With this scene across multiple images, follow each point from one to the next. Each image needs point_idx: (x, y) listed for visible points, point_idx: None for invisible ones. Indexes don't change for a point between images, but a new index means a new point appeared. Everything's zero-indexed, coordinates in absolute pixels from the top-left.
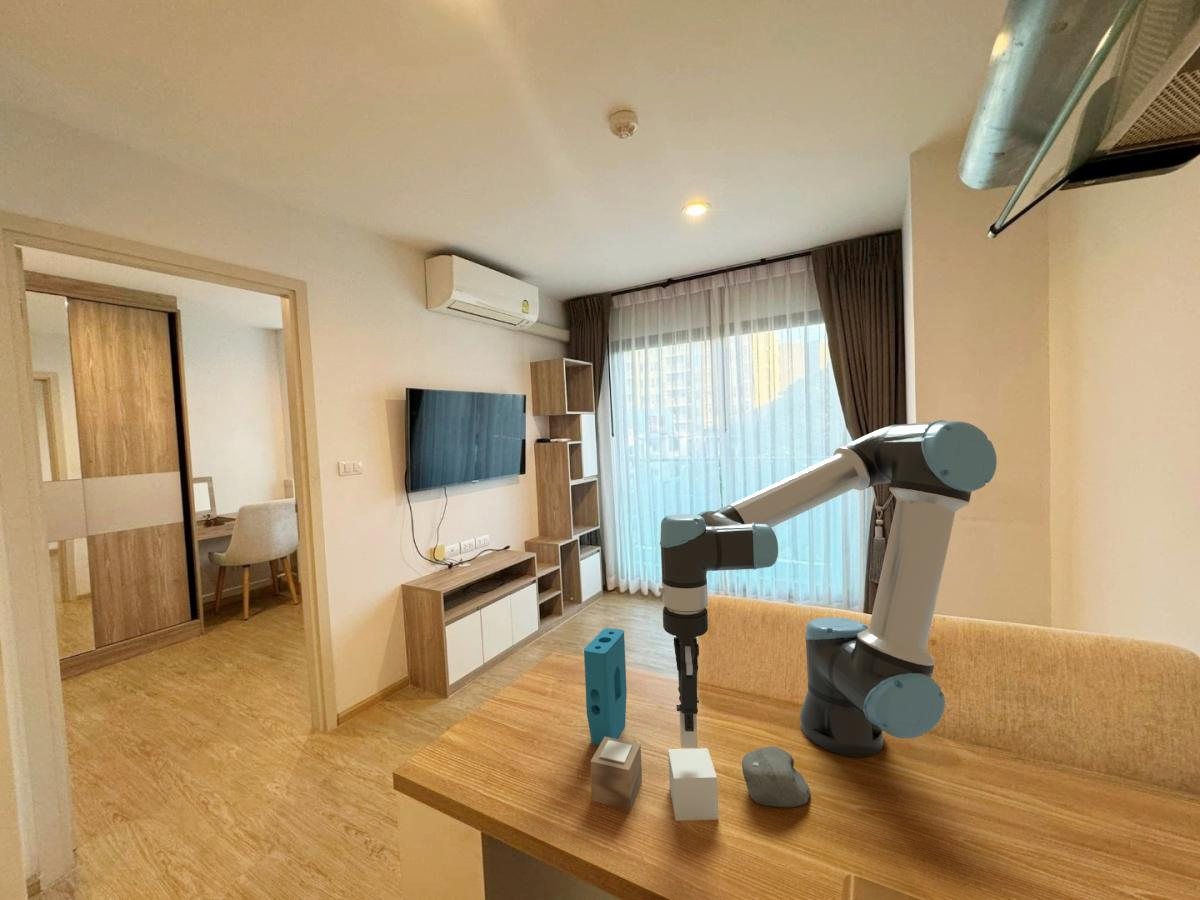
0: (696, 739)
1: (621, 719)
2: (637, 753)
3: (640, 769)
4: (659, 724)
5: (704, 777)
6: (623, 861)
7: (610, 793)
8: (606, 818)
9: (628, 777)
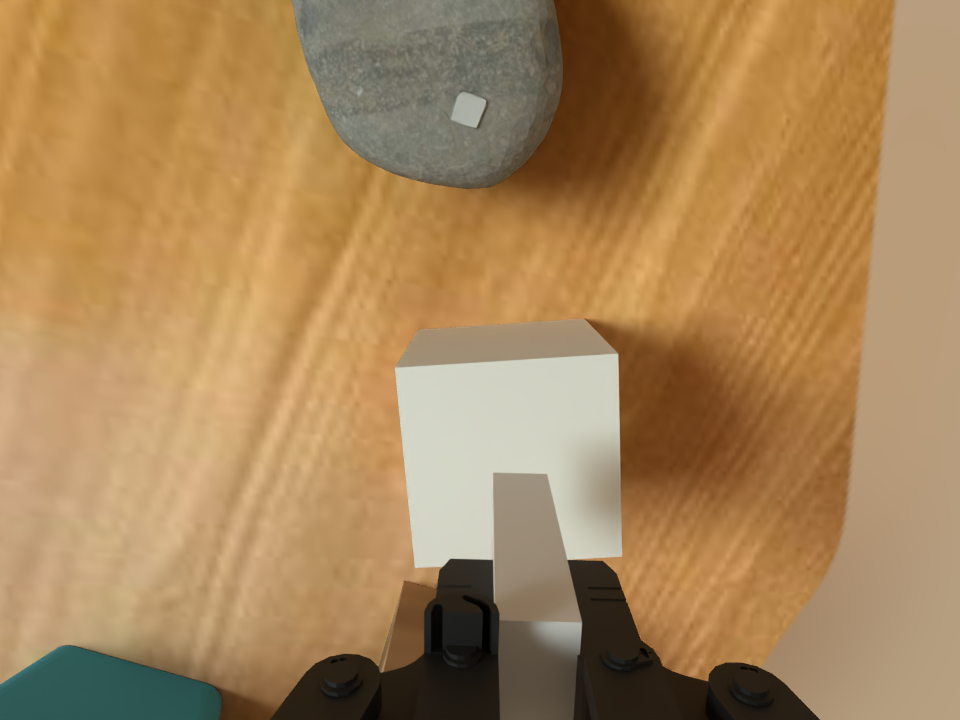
0: (550, 500)
1: (78, 697)
2: None
3: (411, 620)
4: (32, 501)
5: (618, 415)
6: (742, 637)
7: None
8: None
9: None
